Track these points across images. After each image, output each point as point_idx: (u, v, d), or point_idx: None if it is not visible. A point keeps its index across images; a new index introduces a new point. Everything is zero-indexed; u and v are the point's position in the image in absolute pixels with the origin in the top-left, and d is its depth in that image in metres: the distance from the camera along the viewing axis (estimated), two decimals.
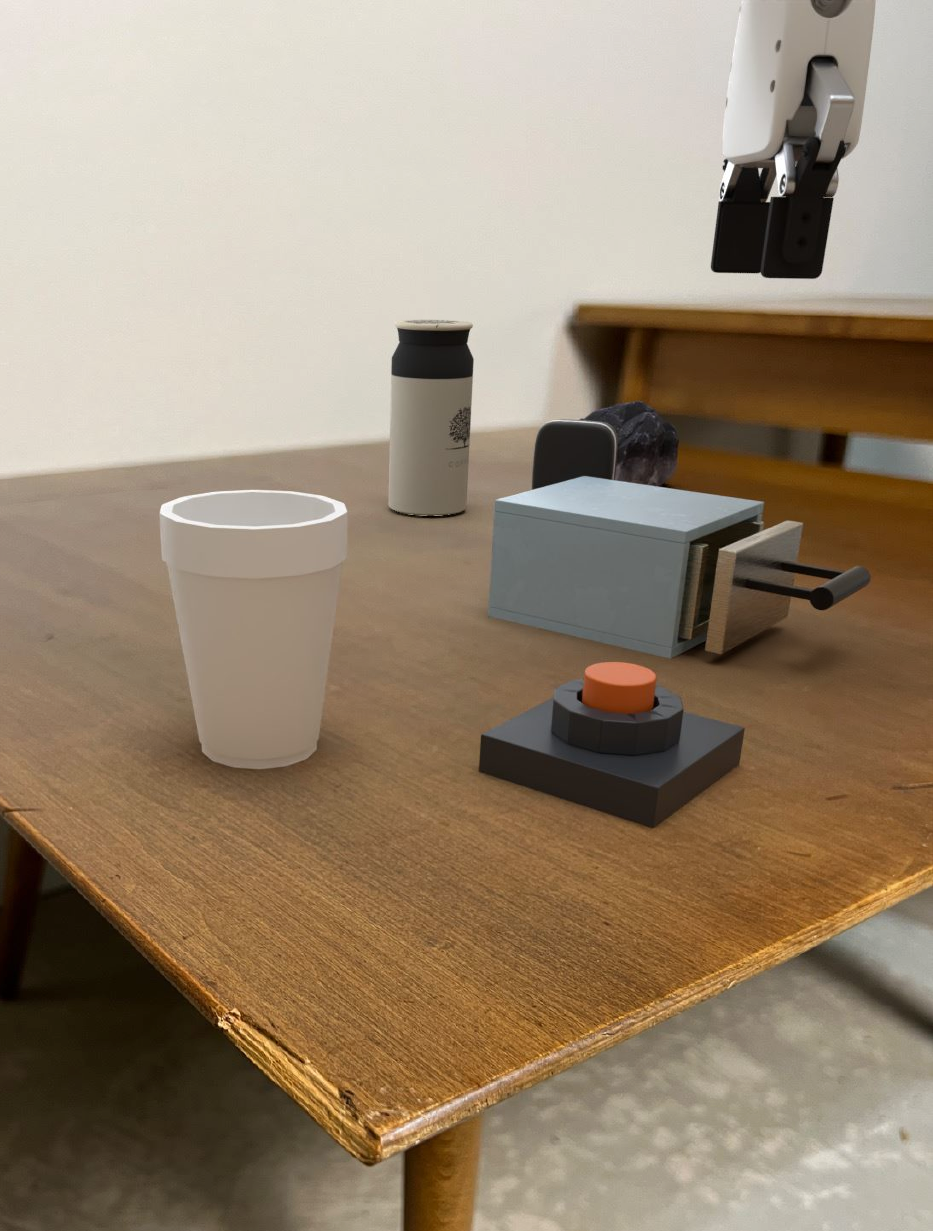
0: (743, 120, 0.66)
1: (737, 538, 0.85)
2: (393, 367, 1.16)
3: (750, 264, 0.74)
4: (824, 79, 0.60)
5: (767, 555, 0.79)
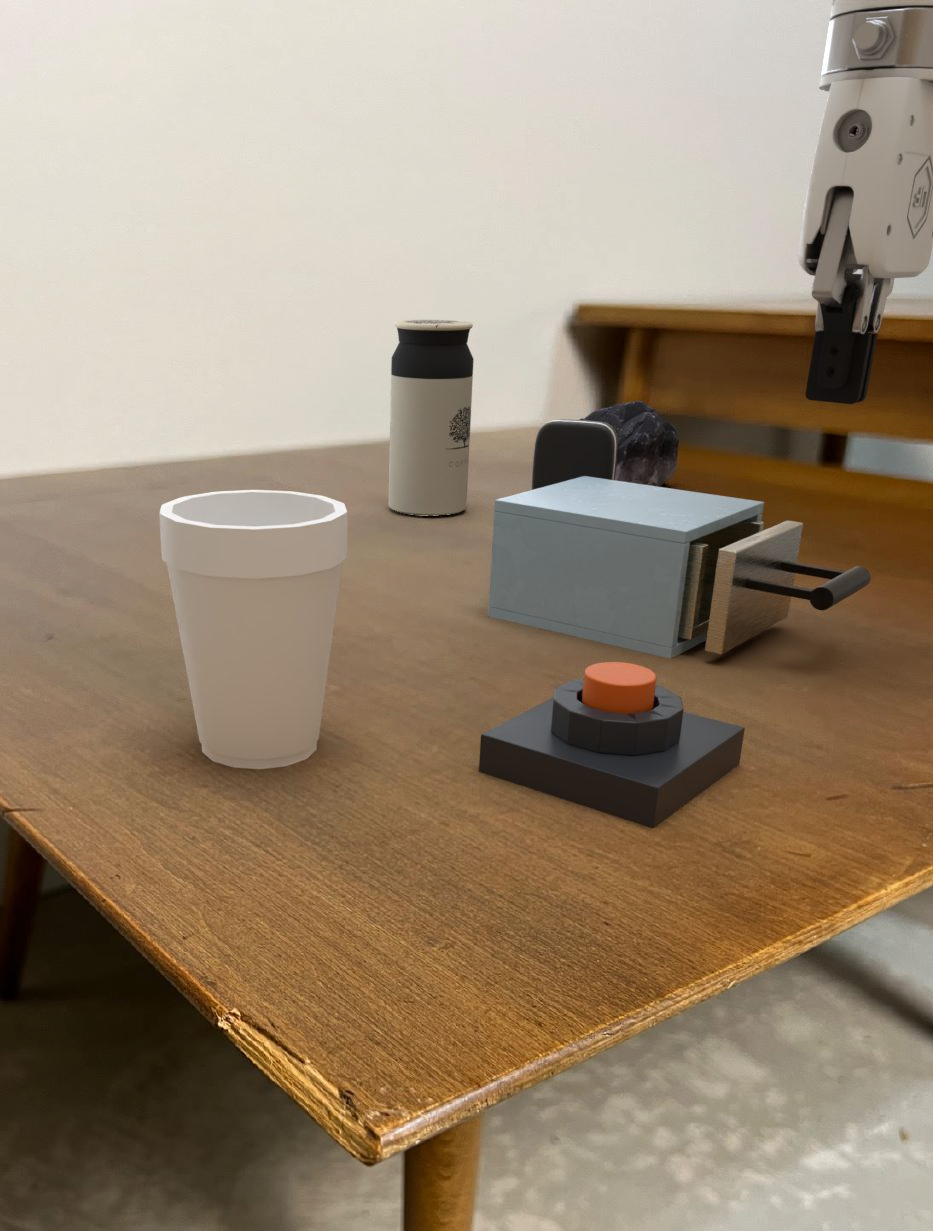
0: None
1: (737, 538, 0.85)
2: (393, 367, 1.16)
3: None
4: (822, 254, 0.67)
5: (767, 555, 0.79)
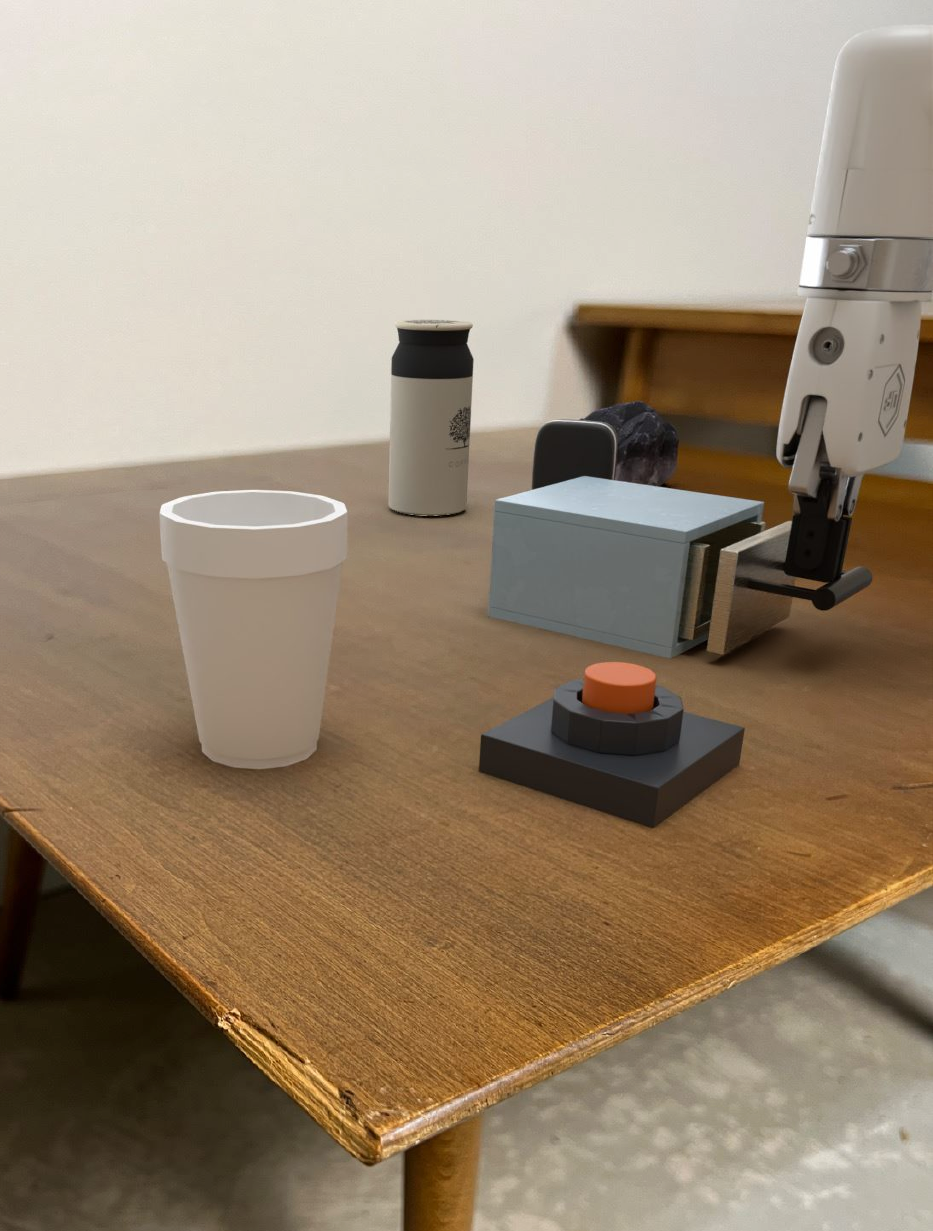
0: None
1: (739, 538, 0.85)
2: (393, 367, 1.16)
3: None
4: (798, 454, 0.71)
5: (769, 555, 0.79)
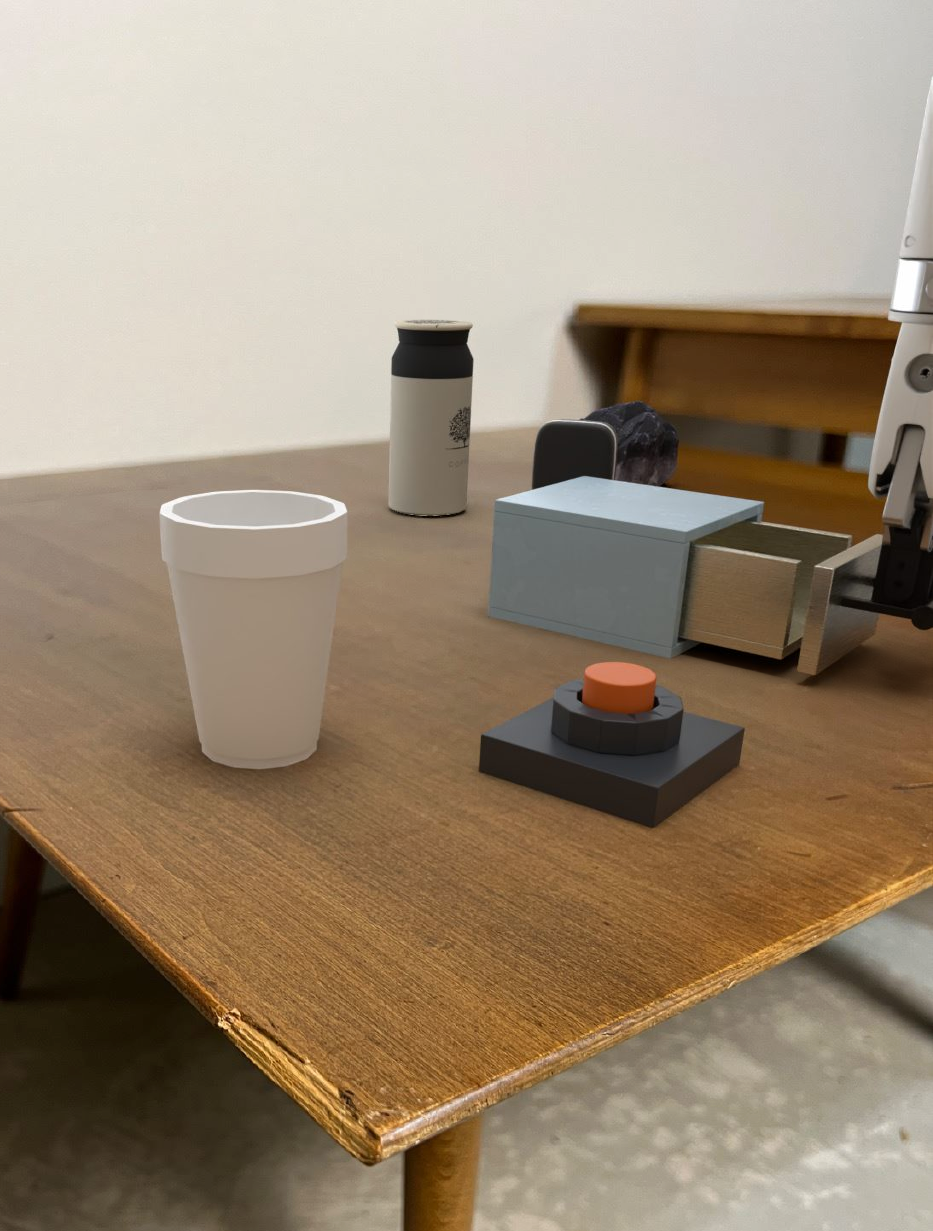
0: None
1: (823, 552, 0.81)
2: (393, 367, 1.16)
3: None
4: (893, 484, 0.69)
5: (861, 571, 0.76)
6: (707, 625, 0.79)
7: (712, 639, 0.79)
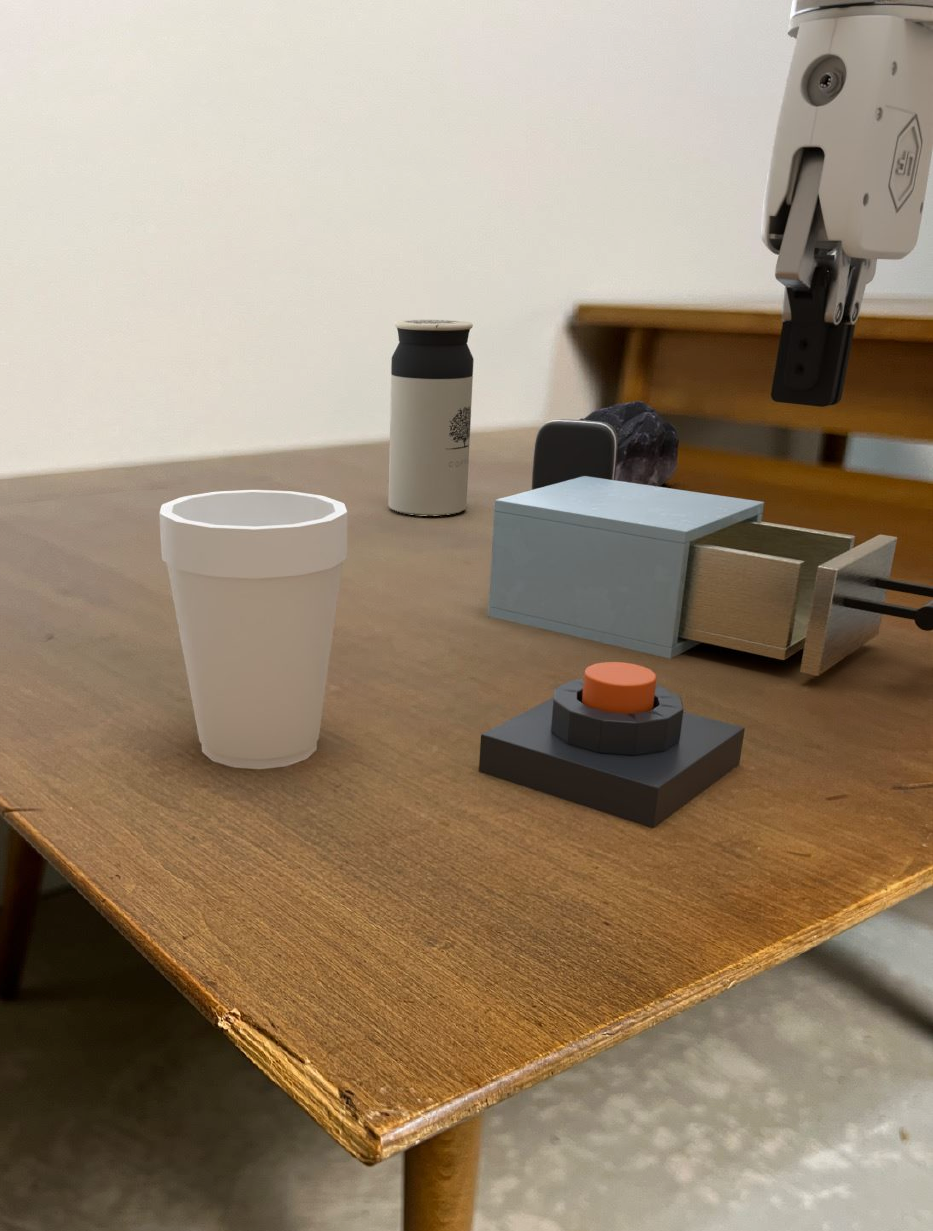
0: None
1: (826, 553, 0.81)
2: (393, 367, 1.16)
3: None
4: (788, 228, 0.57)
5: (864, 571, 0.76)
6: (710, 626, 0.79)
7: (715, 640, 0.79)
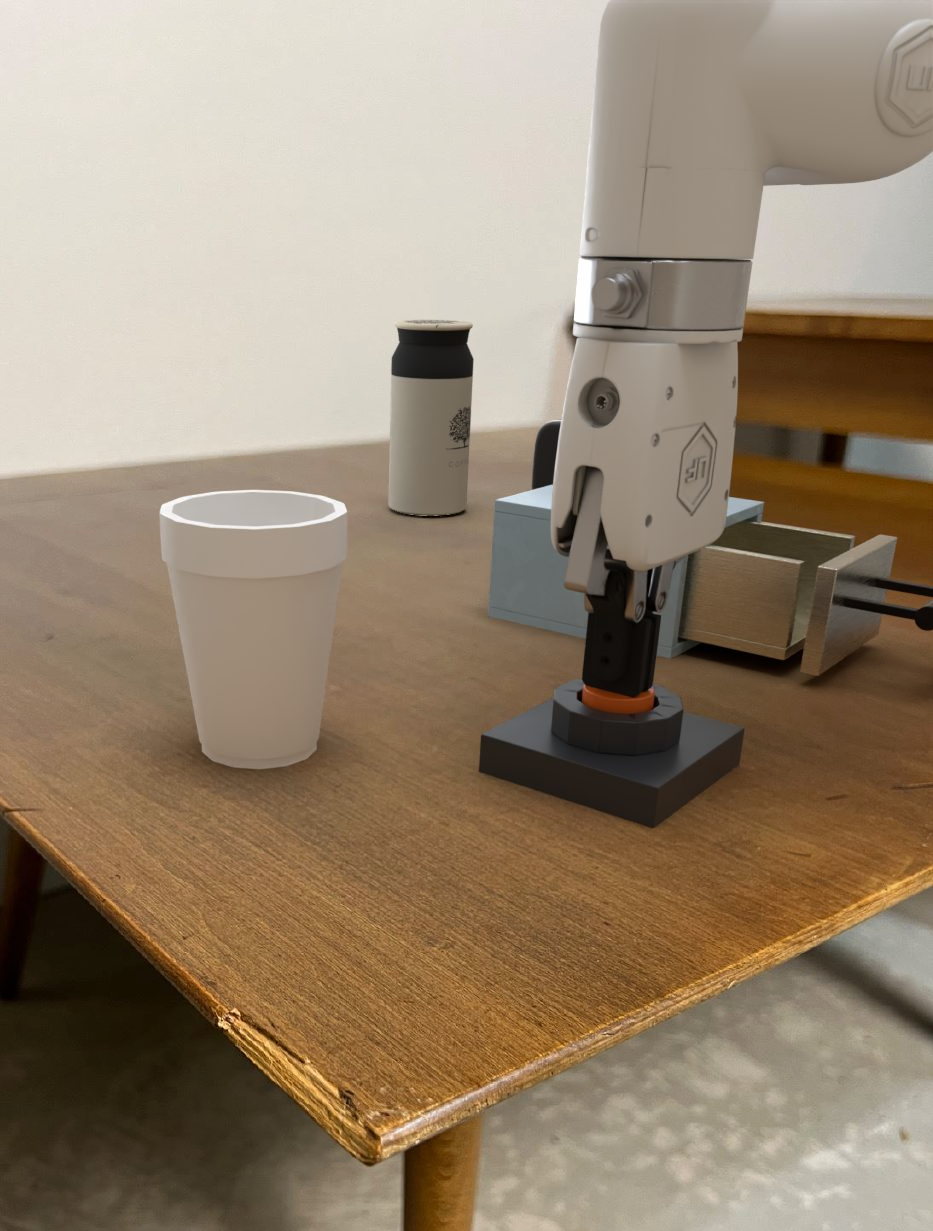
0: None
1: (826, 553, 0.81)
2: (393, 367, 1.16)
3: None
4: (574, 541, 0.55)
5: (864, 571, 0.76)
6: (710, 626, 0.79)
7: (715, 640, 0.79)
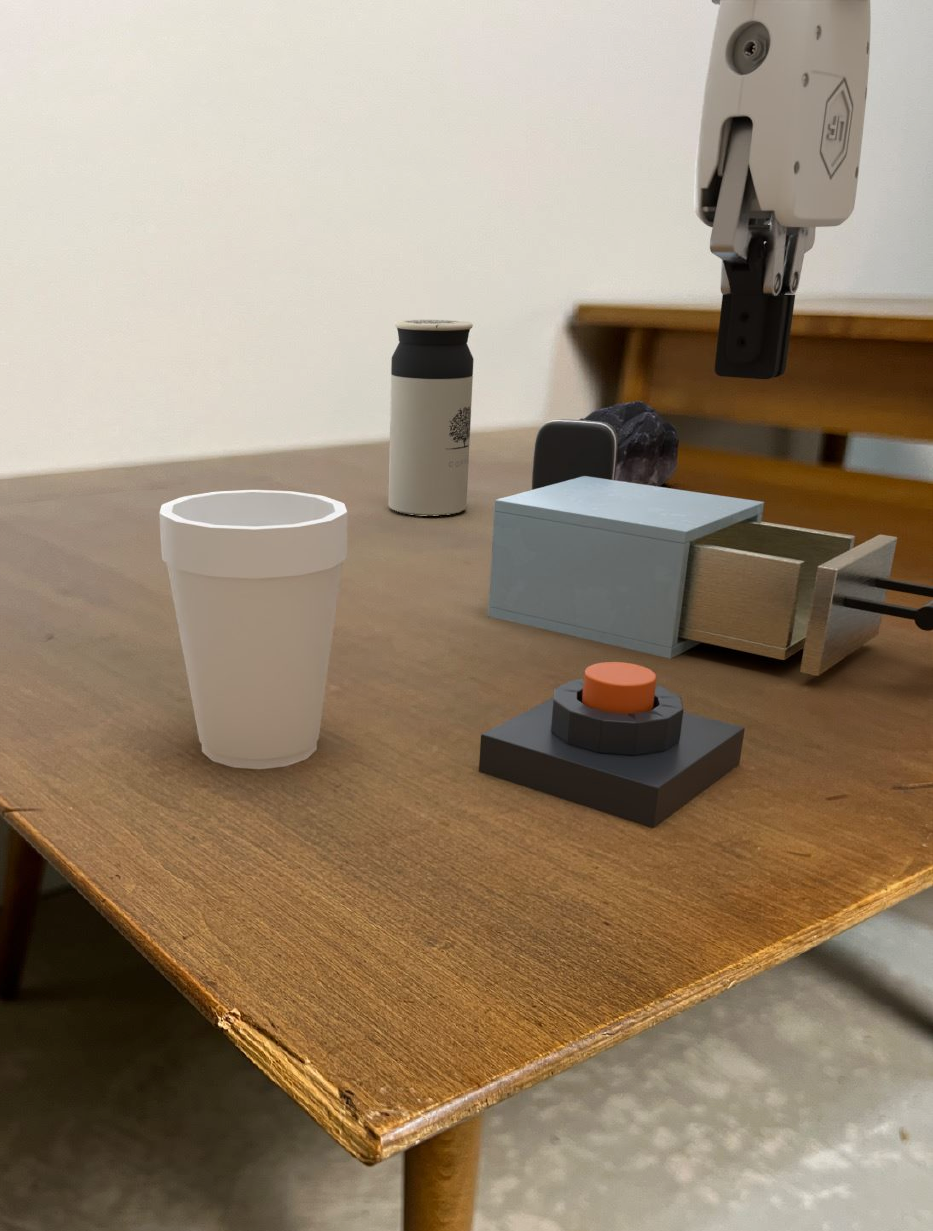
0: None
1: (826, 553, 0.81)
2: (393, 367, 1.16)
3: None
4: (720, 200, 0.56)
5: (864, 571, 0.76)
6: (710, 626, 0.79)
7: (715, 640, 0.79)
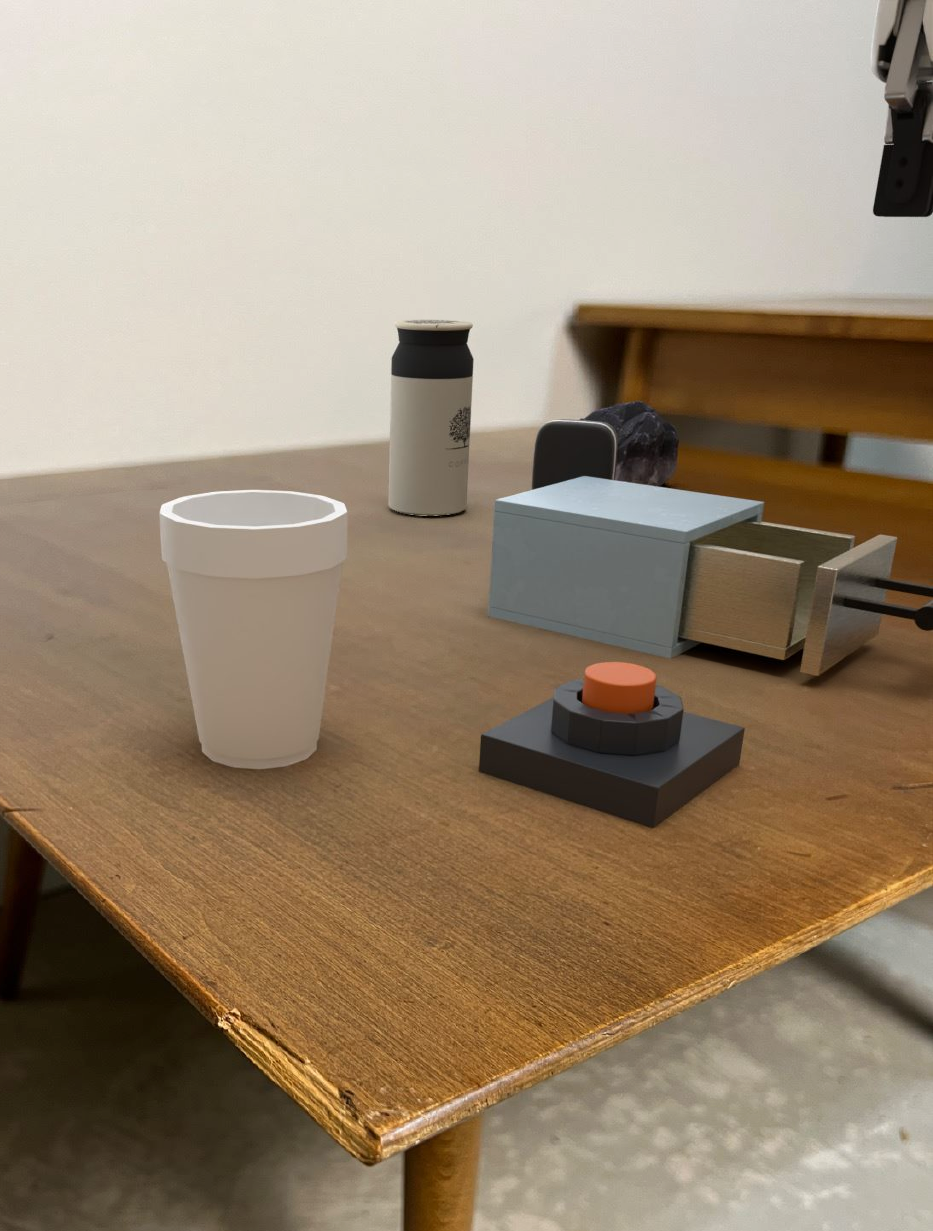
0: None
1: (826, 553, 0.81)
2: (393, 367, 1.16)
3: None
4: (895, 54, 0.68)
5: (864, 571, 0.76)
6: (710, 626, 0.79)
7: (715, 640, 0.79)
